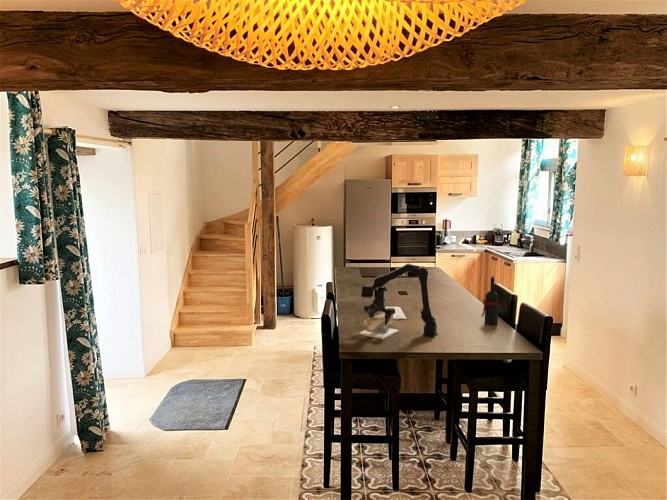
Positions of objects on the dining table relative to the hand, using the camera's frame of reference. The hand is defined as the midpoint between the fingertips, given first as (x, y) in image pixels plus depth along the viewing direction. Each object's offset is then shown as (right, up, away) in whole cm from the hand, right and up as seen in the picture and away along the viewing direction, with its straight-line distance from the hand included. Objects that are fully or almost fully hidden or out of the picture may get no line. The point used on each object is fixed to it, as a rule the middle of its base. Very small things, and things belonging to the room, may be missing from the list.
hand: (379, 323), depth 299 cm
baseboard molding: (+16, 0, +44) cm, 47 cm away
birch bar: (0, -2, 0) cm, 2 cm away
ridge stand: (0, -5, +1) cm, 6 cm away
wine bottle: (+70, -3, +18) cm, 72 cm away
